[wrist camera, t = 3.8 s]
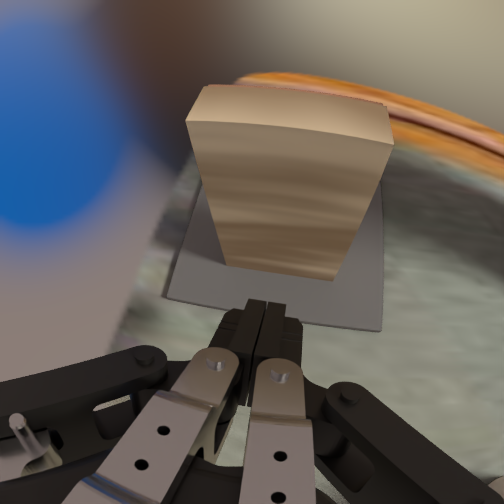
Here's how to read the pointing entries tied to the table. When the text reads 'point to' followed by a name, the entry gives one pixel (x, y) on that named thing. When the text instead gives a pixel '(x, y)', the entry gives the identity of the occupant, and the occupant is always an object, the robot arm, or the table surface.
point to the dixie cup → (498, 486)
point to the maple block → (288, 173)
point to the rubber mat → (286, 276)
